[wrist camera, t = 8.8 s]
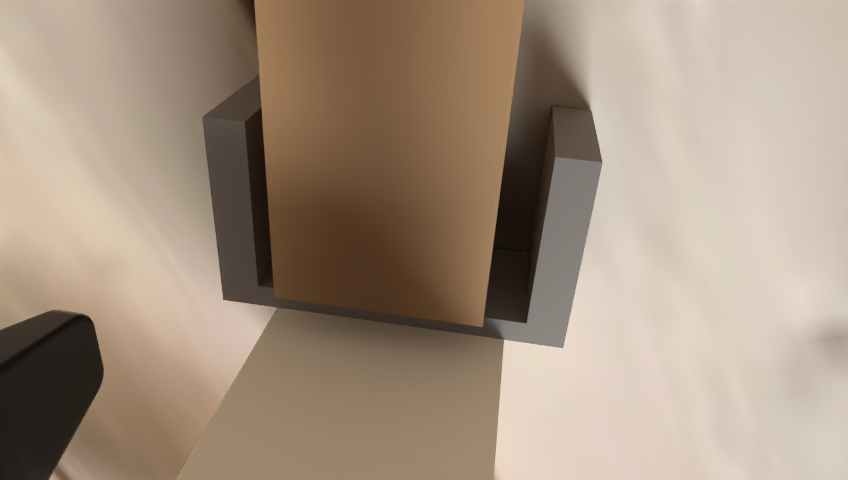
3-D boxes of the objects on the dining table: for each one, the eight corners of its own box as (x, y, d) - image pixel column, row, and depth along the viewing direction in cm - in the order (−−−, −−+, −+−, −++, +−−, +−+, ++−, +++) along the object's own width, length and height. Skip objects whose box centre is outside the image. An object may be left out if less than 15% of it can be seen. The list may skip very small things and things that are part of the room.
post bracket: (591, 110, 17) (644, 357, 8) (530, 419, 23) (526, 757, 14) (258, 75, 18) (1, 266, 9) (279, 380, 24) (130, 676, 15)
